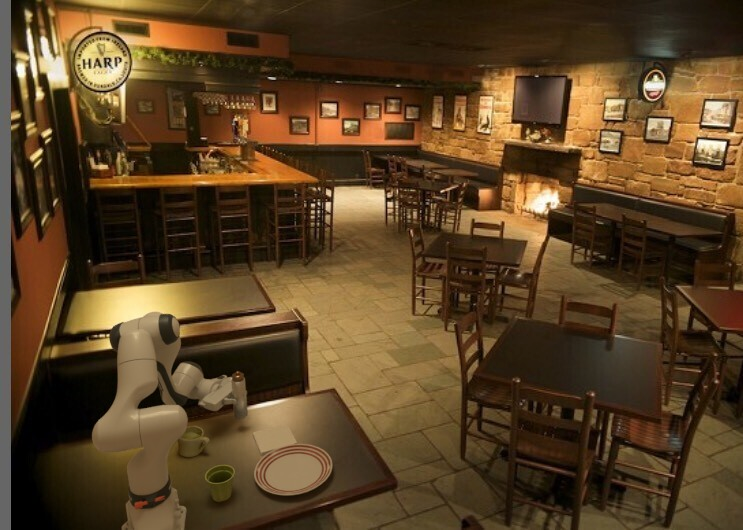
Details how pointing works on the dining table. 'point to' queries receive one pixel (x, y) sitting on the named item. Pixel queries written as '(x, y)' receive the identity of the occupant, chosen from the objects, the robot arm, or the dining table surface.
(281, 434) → the serving tile
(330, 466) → the dinner plate
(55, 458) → the dining table surface
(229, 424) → the dining table surface
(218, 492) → the plant pot
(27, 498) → the dining table surface
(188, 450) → the mug
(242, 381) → the pepper mill
